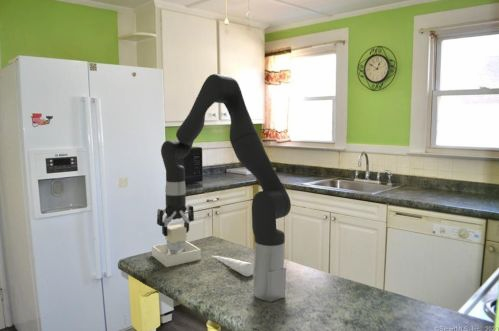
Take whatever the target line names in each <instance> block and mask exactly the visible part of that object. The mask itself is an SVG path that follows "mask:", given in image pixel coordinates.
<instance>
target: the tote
mask: <svg viewBox="0 0 499 331" xmlns="http://www.w3.org/2000/svg"><path fill="white" fill-rule="evenodd" d="M151 256H152V257H153V258H154V259H155V260H157V261H158V262H160V263H161V264H162V265H163V266H164V267H166V268H168V267H173V266H178V265H182V264H185V263H186V264H187V263H191V262H196V261H200V260H201V258H202V249H201V248H199V247H198V246H196V245H194V244H192V243H191V242H189V241H187V240H186V241H185V252H183V253H179V254H174V255H169V256H167V242H165V243H160V244H156V245H155V244H154V245H152V246H151Z"/></svg>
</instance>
